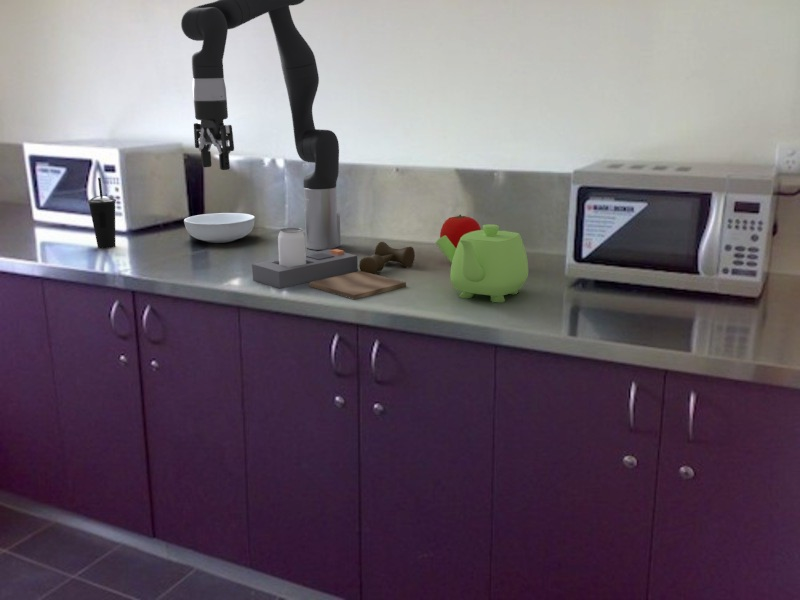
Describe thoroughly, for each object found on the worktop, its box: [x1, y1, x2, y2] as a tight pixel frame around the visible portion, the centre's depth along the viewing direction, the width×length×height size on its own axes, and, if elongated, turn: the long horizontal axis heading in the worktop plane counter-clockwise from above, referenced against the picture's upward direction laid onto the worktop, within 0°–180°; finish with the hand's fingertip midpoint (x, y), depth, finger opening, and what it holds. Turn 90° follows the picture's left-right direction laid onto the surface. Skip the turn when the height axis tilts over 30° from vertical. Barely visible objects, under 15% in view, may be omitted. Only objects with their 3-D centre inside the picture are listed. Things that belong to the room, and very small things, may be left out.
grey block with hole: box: [251, 248, 359, 289], centre depth 194 cm, size 24×11×5 cm, turn 134°
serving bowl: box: [183, 212, 256, 244], centre depth 237 cm, size 21×21×7 cm
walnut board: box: [308, 270, 407, 300], centre depth 184 cm, size 16×16×1 cm
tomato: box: [439, 214, 482, 248], centre depth 205 cm, size 11×11×13 cm
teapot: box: [435, 223, 529, 303], centre depth 175 cm, size 25×22×16 cm
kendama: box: [358, 241, 416, 275], centre depth 202 cm, size 6×10×20 cm
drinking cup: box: [87, 177, 117, 249], centre depth 226 cm, size 8×8×20 cm
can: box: [277, 227, 307, 267], centre depth 190 cm, size 6×6×12 cm
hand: (215, 168), depth 189 cm, fingers open, 8 cm apart
